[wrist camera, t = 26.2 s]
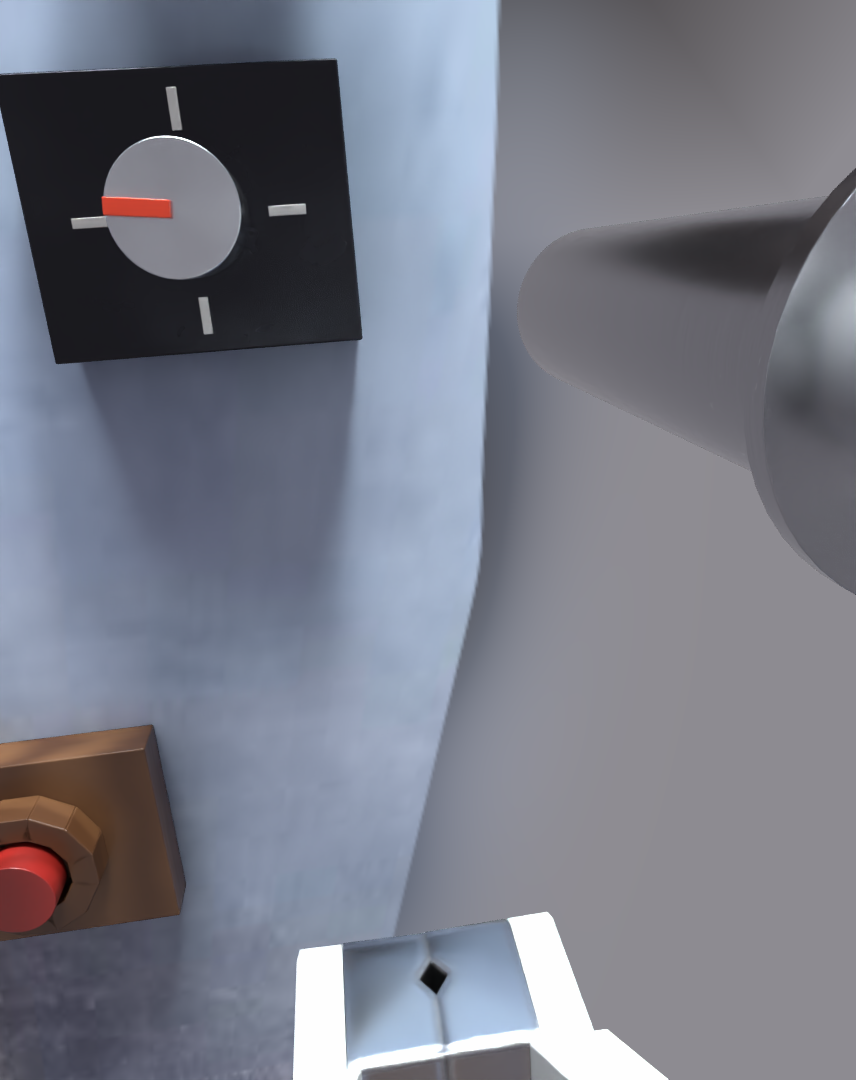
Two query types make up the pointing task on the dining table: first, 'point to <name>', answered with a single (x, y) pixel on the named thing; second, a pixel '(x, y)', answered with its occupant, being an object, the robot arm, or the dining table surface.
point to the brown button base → (95, 824)
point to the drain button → (29, 885)
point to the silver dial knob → (175, 209)
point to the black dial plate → (244, 149)
